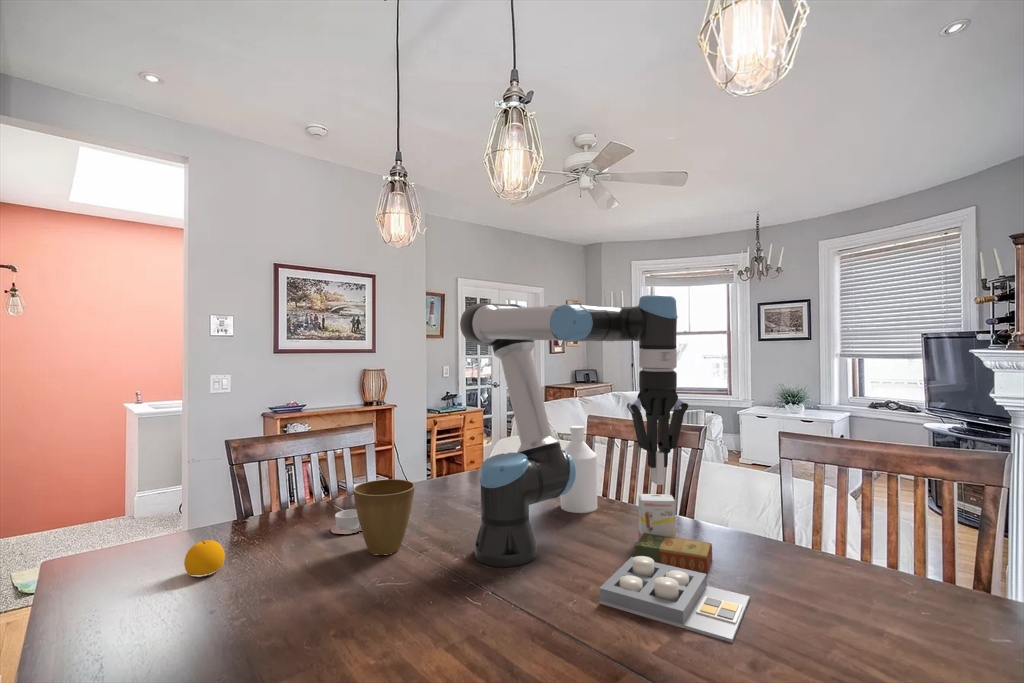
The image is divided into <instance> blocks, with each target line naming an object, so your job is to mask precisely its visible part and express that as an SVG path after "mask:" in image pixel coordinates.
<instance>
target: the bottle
mask: <svg viewBox="0 0 1024 683" xmlns="http://www.w3.org/2000/svg"><path fill="white" fill-rule="evenodd" d="M585 430H586V429H585V425H571V426H569V432H570V438H571V440H570V442H569V443H568V444H567V445H566V447H565V448H564V449H563V450H564V451H566V452H568V454H569V455H571V457H572V458H573V460H574V463H575V467H576V477H575V482H574V483H573V485H572V488H571V489H570V490H569V491H568V492H567V493H565V494H563V495H561V496H559V500H560V508H561V510H563V511H565V512H568V513H574V514H587V513H592V512H594V511H596V510H597V509H598V455H597V453H596V452H595V451H594V450H592V449H591V447H589V445H588V444H587V443H586V442H585V441H584V440H585V437H584V434H585Z"/></svg>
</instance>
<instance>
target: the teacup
mask: <svg viewBox="0 0 1024 683" xmlns="http://www.w3.org/2000/svg"><path fill="white" fill-rule="evenodd" d="M334 520H335V526H338V528H339V529H340V530H352V529H356V528H358V527H359V525H360V524H359V520H358V515H357V510H356V508H354V509H353V508H352V509H345V510H341V511H338V512H336V513H335V514H334Z"/></svg>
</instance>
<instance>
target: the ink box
mask: <svg viewBox="0 0 1024 683" xmlns="http://www.w3.org/2000/svg"><path fill="white" fill-rule="evenodd" d="M676 516H677V514H676V500H675V498H674V496H673V495H672V494H663V493H662V494H661V493H660V494H656V493H653V494H652V493H640V494H639V495H638V540H639V539H640V538H641V537H642V535H643V533H647V534H653V535H660V536H667V537H673V538H677V526H676V525H677V523H676V522H677V520H676Z"/></svg>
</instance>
